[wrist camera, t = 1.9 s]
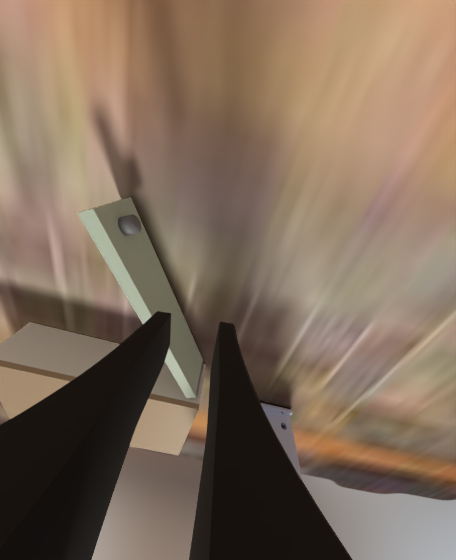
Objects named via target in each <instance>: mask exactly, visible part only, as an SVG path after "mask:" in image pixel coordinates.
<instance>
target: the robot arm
mask: <svg viewBox="0 0 456 560" xmlns="http://www.w3.org/2000/svg"><path fill="white" fill-rule="evenodd" d="M170 335H171V313H166V312H160V311H157V312H156V313H155V314H154V315H152V316H151V317H150V318H149V319H148V320H147V321H146V322H145V323H144V324H143V325H142V326H141V327H140V328H138V329H137V330H136V331H135V332H134V333H133V334H132V335H130V336H129V337H128V338H127V339H126V340H125V341H123V342H122V343H121V344H120V345H119V346H118V347H116V348H115V349H114V350H112V351H111V352H110V353H109V354H107V355H106V356H105V357H104V358H102V359H101V360H100V361H98V362H97V363H96V364H94V365H93V366H92V367H90V368H89V369H88V370H86V371H85V372H83V373H82V374H81V375H79V376H78V377H76V378H75V379H73V380H72V381H70V382H69V383H67V384H66V385H65V386H63V387H61V388H60V389H58V390H57V391H55V392H54V393H52V394H51V395H49V396H47V397H46V398H44V399H43V400H41V401H40V402H38V403H36V404H35V405H33V406H32V407H30V408H28V409H27V410H25V411H23V412H22V413H20V414H18V415H17V416H15V417H13V418H11V419H10V420H8V421H6V422H4V423H3V424H1V425H0V560H91V559H92V556H93V553H94V549H95V546H96V543H97V540H98V537H99V534H100V531H101V527H102V525H103V522H104V519H105V515H106V512H107V509H108V506H109V503H110V500H111V497H112V494H113V491H114V488H115V485H116V483H117V480H118V477H119V474H120V471H121V468H122V465H123V462H124V459H125V456H126V454H127V451H128V448H129V445H130V442H131V440H132V437H133V434H134V431H135V428H136V426H137V424H138V421H139V419H140V416H141V414H142V412H143V410H144V407H145V405H146V403H147V401H148V398H149V396H150V394H151V392H152V389H153V387H154V385H155V383H156V381H157V378H158V376H159V374H160V372H161V369H162V367H163V365H164V362H165V359H166V356H167V352H168V349H169V346H170ZM291 415H292V410H290V409H286V408H282V407H278V406H273V405H269V404H264V403H260V401H259V399H258V396H257V394H256V392H255V389H254V387H253V385H252V382H251V380H250V377H249V374H248V372H247V369H246V366H245V363H244V360H243V357H242V354H241V351H240V347H239V344H238V340H237V335H236V330H235V326H234V324H231V323H225V322H220V325H219V330H218V334H217V339H216V344H215V349H214V355H213V361H212V368H211V377H210V392H209V408H208V424H207V435H206V444H205V451H204V458H203V466H202V473H201V480H200V488H199V494H198V502H197V509H196V516H195V523H194V530H193V537H192V543H191V550H190V558H189V560H352V558H351V557H350V555H349V554H348V552H347V551H346V549H345V548H344V546H343V545H342V543H341V541H340V540H339V539H338V537H337V535H336V534H335V532H334V531H333V529H332V528H331V526H330V525H329V523H328V522H327V520H326V519H325V517H324V515H323V514H322V512H321V511H320V509H319V508H318V506H317V504H316V503H315V501H314V499H313V498H312V496H311V495H310V493H309V491H308V490H307V488H306V487H305V485H304V483H303V482H302V480H301V473H300V466H299V461H298V456H297V451H296V446H295V440H294V435H293V430H292V425H291V419H290V416H291Z"/></svg>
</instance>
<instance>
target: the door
mask: <svg viewBox="0 0 456 560" xmlns="http://www.w3.org/2000/svg"><path fill="white" fill-rule="evenodd" d="M78 215H79V217H80V218H81V220H82V222H83V224H84V225H85V227H86V229H87V230H88V232H89V234H90V235H91V237H92V239H93V241H94V242H95V244H96V246H97V247H98V249H99V251H100V252H101V254H102V256H103V257H104V259H105V261H106V263H107V264H108V266H109V268H110V269H111V271H112V273H113V274H114V276H115V278H116V280H117V281H118V283H119V285H120V286H121V288H122V290H123V291H124V293H125V295H126V296H127V298H128V300H129V302H130V303H131V305H132V307H133V308H134V310H135V312H136V313H137V315H138V317H139V319H140V320H141V322H142V324H144V323H145V322H146V321H147V320H148V319H149V318H150V317H151V316H152V315H154V314H155V313H156V312H157V311H160V312H166V313H171V335H170V346H169V349H168V352H167V356H166V359H165V363H166V364H167V366H168V368H169V369H170V371H171V373H172V375H173V376H174V378H175V380H176V381H177V383H178V385H179V386H180V388H181V390H182V392H183V393H184V395H185V397H186V398H190V399H195V398H197V395H198V390H199V385H200V379H201V374H202V369H203V364H204V362H203V359H202V357H201V354H200V352H199V350H198V348H197V345H196V343H195V341H194V339H193V336H192V334H191V332H190V329H189V327H188V325H187V323H186V320H185V318H184V316H183V314H182V311H181V309H180V307H179V305H178V302H177V300H176V298H175V296H174V293H173V291H172V289H171V287H170V284H169V282H168V280H167V278H166V275H165V273H164V271H163V269H162V266H161V264H160V262H159V260H158V257H157V255H156V253H155V251H154V248H153V246H152V244H151V242H150V239H149V237H148V235H147V232H146V230H145V228H144V226H143V223H142V221H141V219H140V217H139V214H138V212H137V210H136V208H135V205H134V203H133V201H132V199H131V197H130V198H126V199H122V200H118V201H115V202H112V203H108V204H105V205H102V206H99V207H95V208H92V209H89V210H86V211H82V212H79V213H78Z"/></svg>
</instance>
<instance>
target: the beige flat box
mask: <svg viewBox="0 0 456 560" xmlns="http://www.w3.org/2000/svg"><path fill="white" fill-rule="evenodd" d="M119 345H120V344H118V343H114V342H110V341H106V340H102V339H98V338H94V337H89V336H85V335H81V334H77V333H73V332H69V331H65V330H61V329H57V328H52V327H48V326H44V325H40V324H36V323H32V322H29V323H28V324H27V325H25V326H24V327H23V328H21V329H20V330H19V331H17V332H16V333H15V334H13V335H12V336H11V337H9V338H8V339H7V340H5V341H4V342H3V343H1V344H0V402H1V404H2V405H3V407H4V409H5V411H6V413H7V414H8V416H9V418H10V419H11V418H13V417H15V416H17V415H18V414H20V413H22V412H23V411H25V410H27V409H28V408H30V407H32V406H33V405H35V404H36V403H38V402H40V401H41V400H43V399H44V398H46V397H47V396H49V395H51V394H52V393H54V392H55V391H57V390H58V389H60V388H61V387H63V386H65V385H66V384H67V383H69V382H70V381H72V380H73V379H75V378H76V377H78V376H79V375H81V374H82V373H83V372H85V371H86V370H88V369H89V368H90V367H92V366H93V365H94V364H96V363H97V362H98V361H100V360H101V359H102V358H104V357H105V356H106V355H107V354H109V353H110V352H111V351H112V350H114V349H115V348H116V347H118V346H119ZM205 369H206V365H205V364H203V369H202V374H201V379H200V385H199V390H198V395H197V398H195V399H190V398H186V397H185V395H184V393H183V392H182V390H181V388H180V386H179V385H178V383H177V381H176V380H175V378H174V376H173V375H172V373H171V371H170V369H169V368H168V366H167V364H166V363H165V362H164V365H163V367H162V369H161V372H160V374H159V376H158V378H157V381H156V383H155V385H154V387H153V389H152V392H151V394H150V396H149V398H148V401H147V403H146V405H145V407H144V410H143V412H142V414H141V416H140V419H139V421H138V424H137V426H136V428H135V431H134V434H133V437H132V440H131V442H130V445H129V446H133V447H138V448H143V449H148V450H153V451H158V452H164V453H169V454H174V455H179V453H180V451H181V448H182V446H183V444H184V442H185V439H186V437H187V435H188V432H189V430H190V428H191V426H192V423H193V421H194V419H195V416H196V414H197V412H198V410H199V404H200V398H201V392H202V387H203V381H204V375H205Z"/></svg>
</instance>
